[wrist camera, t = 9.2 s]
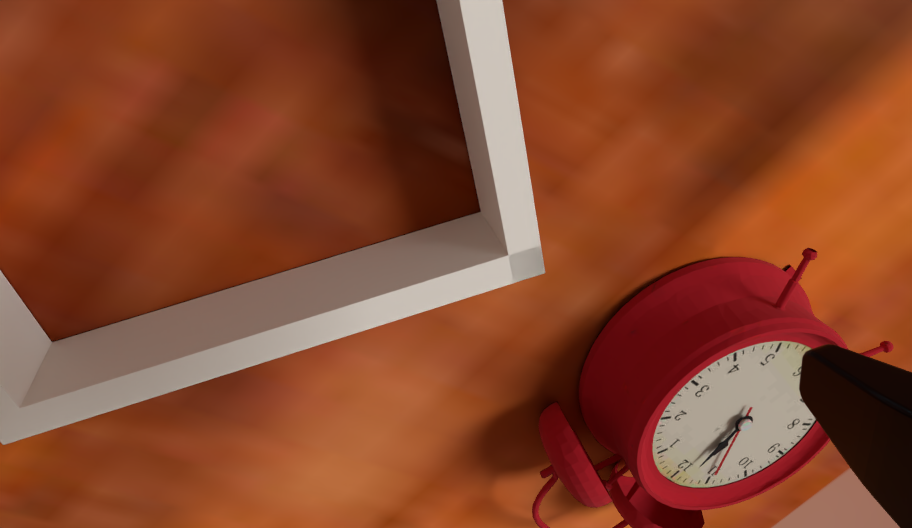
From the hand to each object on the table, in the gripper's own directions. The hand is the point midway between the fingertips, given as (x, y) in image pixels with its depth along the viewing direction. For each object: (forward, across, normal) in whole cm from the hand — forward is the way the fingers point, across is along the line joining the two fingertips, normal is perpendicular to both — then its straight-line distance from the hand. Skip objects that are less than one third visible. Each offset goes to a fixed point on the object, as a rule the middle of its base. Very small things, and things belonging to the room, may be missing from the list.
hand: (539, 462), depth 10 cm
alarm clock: (+12, -8, +13) cm, 20 cm away
